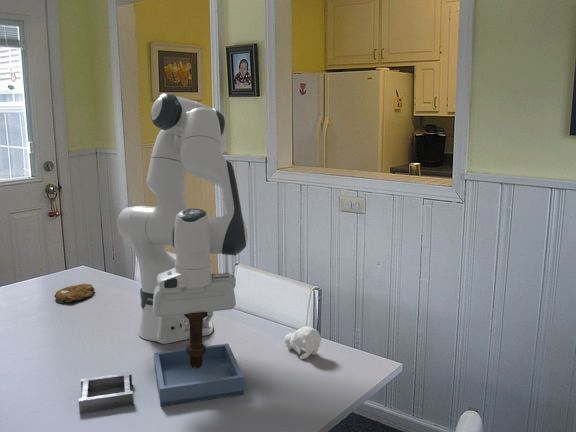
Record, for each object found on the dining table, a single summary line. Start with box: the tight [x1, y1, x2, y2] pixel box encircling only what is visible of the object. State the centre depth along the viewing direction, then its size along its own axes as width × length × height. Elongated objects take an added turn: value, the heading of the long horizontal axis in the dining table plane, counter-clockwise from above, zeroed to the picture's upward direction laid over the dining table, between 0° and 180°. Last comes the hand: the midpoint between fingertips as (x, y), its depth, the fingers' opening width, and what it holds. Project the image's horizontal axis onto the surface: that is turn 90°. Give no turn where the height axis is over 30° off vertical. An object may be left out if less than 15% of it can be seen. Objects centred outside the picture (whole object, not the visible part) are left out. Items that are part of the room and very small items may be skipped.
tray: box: [153, 343, 245, 408], centre depth 146 cm, size 20×20×4 cm
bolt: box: [184, 312, 208, 368], centre depth 144 cm, size 6×5×15 cm
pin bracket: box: [78, 372, 135, 414], centre depth 138 cm, size 12×11×3 cm
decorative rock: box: [53, 283, 96, 304], centre depth 207 cm, size 11×4×15 cm
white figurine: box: [284, 326, 322, 360], centre depth 161 cm, size 6×8×12 cm
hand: (195, 328), depth 143 cm, fingers closed on bolt, 4 cm apart
